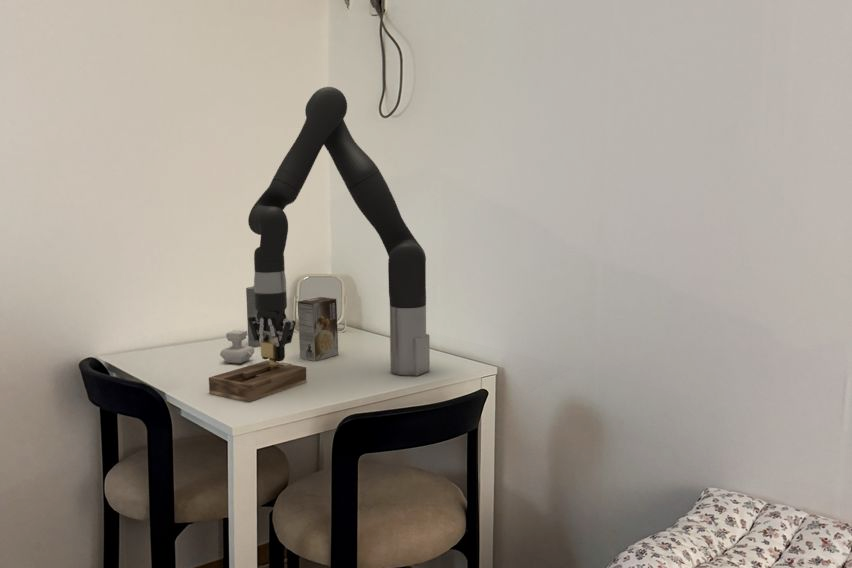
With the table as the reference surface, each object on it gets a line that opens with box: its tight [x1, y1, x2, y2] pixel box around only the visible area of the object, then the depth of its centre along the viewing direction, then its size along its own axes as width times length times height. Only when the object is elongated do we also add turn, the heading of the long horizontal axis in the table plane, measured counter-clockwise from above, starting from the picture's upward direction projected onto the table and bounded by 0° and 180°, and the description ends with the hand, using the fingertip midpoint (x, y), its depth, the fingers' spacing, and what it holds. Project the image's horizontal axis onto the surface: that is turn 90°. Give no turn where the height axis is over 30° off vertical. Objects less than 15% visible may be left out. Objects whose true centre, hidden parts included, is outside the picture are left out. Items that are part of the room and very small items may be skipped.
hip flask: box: [245, 286, 280, 349], centre depth 229 cm, size 16×4×20 cm, turn 153°
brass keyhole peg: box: [260, 339, 280, 371], centre depth 185 cm, size 4×4×9 cm
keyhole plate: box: [208, 359, 307, 403], centre depth 182 cm, size 13×19×4 cm
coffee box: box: [297, 296, 339, 362], centre depth 211 cm, size 9×6×16 cm
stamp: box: [219, 329, 255, 364], centre depth 206 cm, size 9×7×8 cm
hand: (273, 359), depth 185 cm, fingers closed on brass keyhole peg, 3 cm apart
